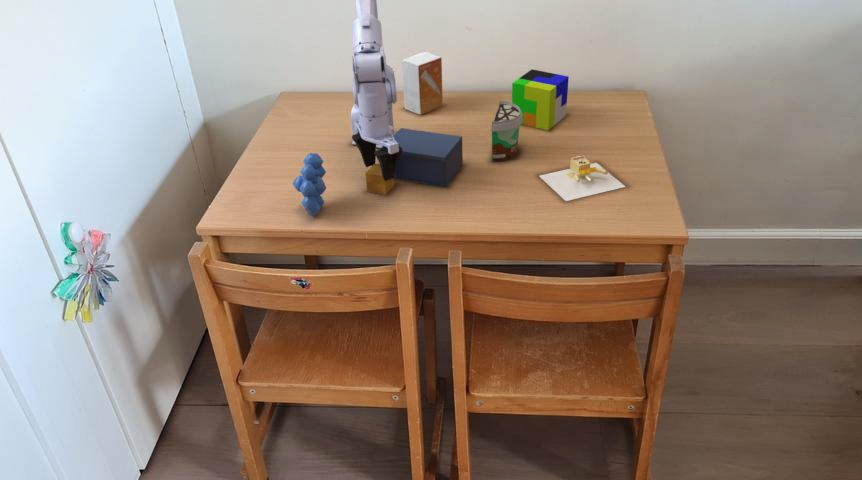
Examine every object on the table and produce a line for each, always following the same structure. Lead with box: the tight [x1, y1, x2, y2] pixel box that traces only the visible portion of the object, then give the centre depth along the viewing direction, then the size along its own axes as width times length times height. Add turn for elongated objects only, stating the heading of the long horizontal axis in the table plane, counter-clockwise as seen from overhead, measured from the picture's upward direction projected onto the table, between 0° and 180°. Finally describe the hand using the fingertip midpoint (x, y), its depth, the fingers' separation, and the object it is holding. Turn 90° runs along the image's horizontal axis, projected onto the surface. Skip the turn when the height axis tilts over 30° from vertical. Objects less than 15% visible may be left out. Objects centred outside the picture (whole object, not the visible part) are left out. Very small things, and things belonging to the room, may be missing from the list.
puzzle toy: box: [511, 69, 569, 131], centre depth 187 cm, size 10×10×10 cm
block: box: [365, 163, 395, 196], centre depth 162 cm, size 4×4×5 cm
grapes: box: [291, 152, 327, 217], centre depth 154 cm, size 12×7×12 cm, turn 174°
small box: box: [401, 51, 444, 116], centre depth 193 cm, size 8×6×13 cm
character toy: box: [568, 154, 609, 183], centre depth 163 cm, size 8×3×8 cm
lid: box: [380, 127, 463, 161], centre depth 165 cm, size 11×15×1 cm
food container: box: [490, 100, 523, 162], centre depth 172 cm, size 12×6×10 cm, turn 169°
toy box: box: [394, 140, 464, 188], centre depth 168 cm, size 10×15×6 cm
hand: (379, 172), depth 161 cm, fingers open, 7 cm apart
